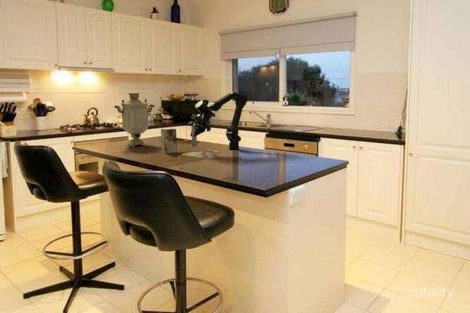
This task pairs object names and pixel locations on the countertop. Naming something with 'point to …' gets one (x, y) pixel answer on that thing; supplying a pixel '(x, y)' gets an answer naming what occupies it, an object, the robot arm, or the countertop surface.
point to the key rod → (194, 139)
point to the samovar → (135, 117)
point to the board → (204, 154)
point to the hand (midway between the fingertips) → (192, 136)
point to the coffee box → (169, 140)
